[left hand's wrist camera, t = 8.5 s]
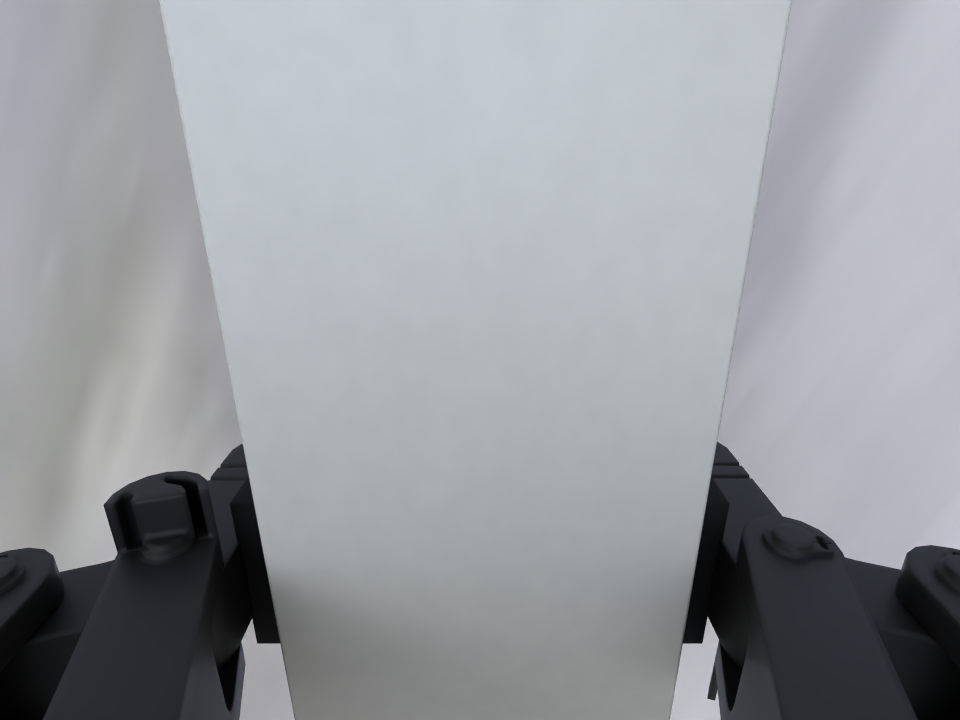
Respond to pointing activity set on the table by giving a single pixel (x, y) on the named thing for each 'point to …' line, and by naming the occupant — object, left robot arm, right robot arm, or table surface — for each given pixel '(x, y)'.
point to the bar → (478, 329)
